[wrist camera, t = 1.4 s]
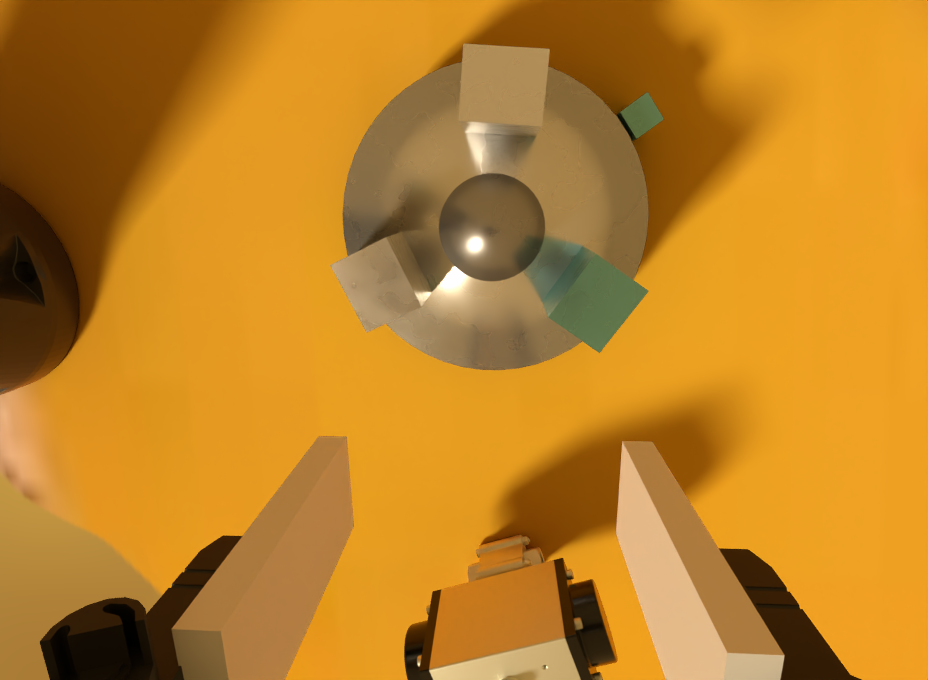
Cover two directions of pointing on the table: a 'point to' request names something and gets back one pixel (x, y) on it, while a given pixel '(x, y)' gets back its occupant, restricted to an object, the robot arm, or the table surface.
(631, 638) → the table surface
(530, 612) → the pneumatic valve
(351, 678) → the table surface
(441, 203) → the lathe chuck
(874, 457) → the table surface
